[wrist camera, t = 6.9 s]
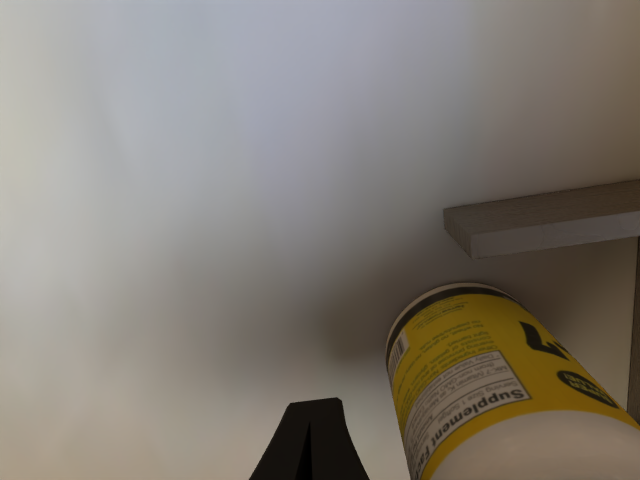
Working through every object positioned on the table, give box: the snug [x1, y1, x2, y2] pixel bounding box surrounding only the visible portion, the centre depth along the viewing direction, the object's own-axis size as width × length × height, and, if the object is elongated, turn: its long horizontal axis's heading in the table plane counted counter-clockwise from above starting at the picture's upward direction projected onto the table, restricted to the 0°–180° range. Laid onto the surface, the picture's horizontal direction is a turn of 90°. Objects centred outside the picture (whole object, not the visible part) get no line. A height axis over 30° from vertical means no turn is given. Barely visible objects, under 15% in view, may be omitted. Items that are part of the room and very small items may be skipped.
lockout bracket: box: [443, 180, 640, 426], centre depth 12 cm, size 6×9×2 cm, turn 9°
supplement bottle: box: [385, 283, 640, 480], centre depth 10 cm, size 5×5×8 cm
